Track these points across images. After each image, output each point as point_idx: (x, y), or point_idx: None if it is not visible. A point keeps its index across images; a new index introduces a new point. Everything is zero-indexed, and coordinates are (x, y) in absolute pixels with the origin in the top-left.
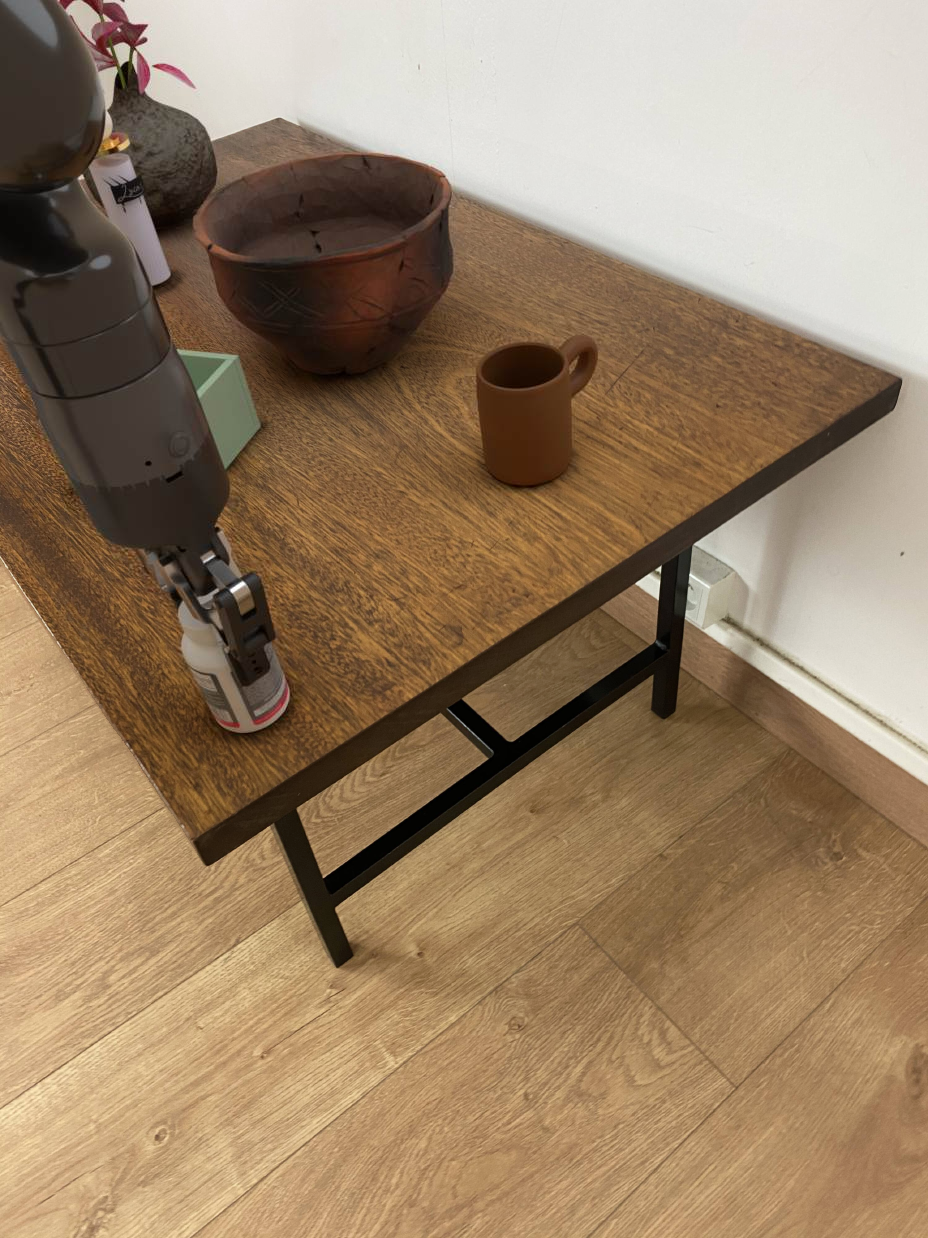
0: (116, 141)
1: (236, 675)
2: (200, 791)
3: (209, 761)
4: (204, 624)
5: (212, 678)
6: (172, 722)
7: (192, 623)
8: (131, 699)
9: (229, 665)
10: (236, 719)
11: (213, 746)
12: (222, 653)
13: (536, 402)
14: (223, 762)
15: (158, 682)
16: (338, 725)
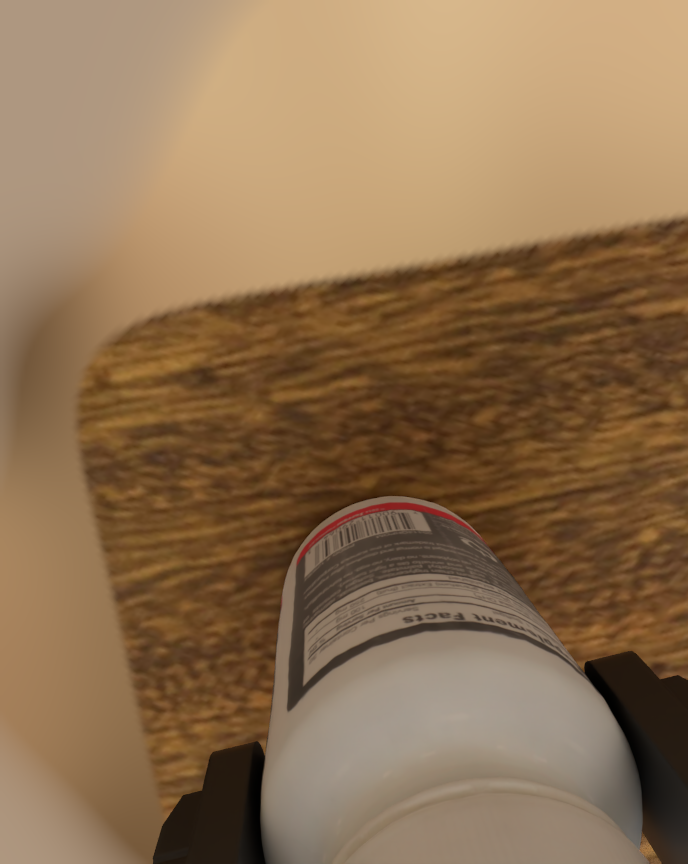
0: None
1: (207, 799)
2: (181, 379)
3: (268, 432)
4: None
5: (298, 681)
6: (466, 379)
7: None
8: (630, 292)
9: (239, 822)
10: (295, 573)
11: (312, 457)
12: (305, 837)
13: None
14: (243, 464)
15: (640, 384)
16: (195, 753)
